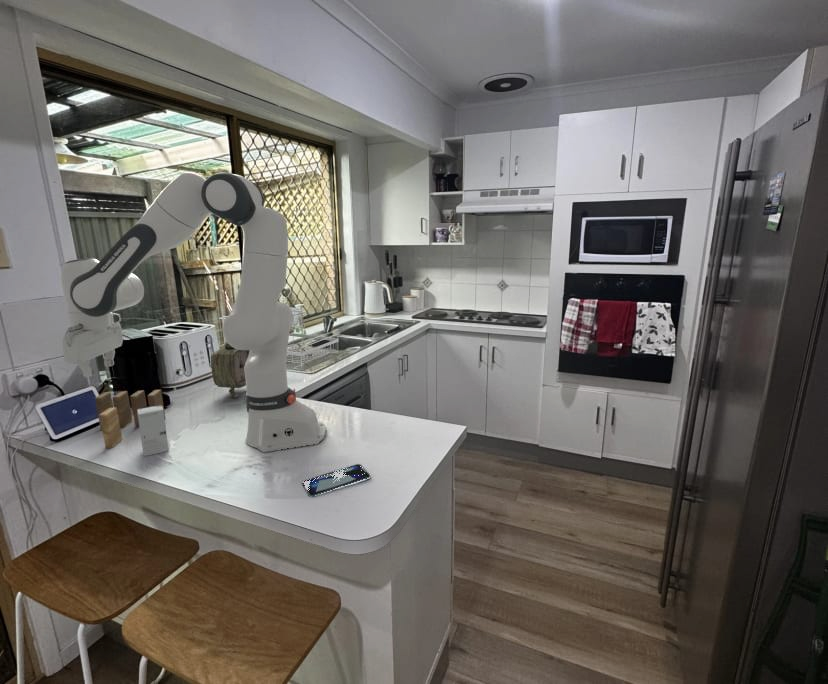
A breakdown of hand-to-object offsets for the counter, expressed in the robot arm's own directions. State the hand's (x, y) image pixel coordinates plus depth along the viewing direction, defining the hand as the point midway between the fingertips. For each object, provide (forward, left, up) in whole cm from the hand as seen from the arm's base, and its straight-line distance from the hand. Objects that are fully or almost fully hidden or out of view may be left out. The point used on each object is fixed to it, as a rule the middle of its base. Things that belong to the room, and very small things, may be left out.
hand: (99, 370), depth 117 cm
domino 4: (-6, -14, -22) cm, 26 cm away
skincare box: (-14, +6, -22) cm, 27 cm away
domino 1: (+9, -14, -22) cm, 27 cm away
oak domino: (0, 0, -22) cm, 22 cm away
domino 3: (-1, -14, -22) cm, 26 cm away
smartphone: (-64, +28, -22) cm, 73 cm away
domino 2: (+4, -14, -22) cm, 26 cm away
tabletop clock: (-23, -38, -22) cm, 50 cm away
